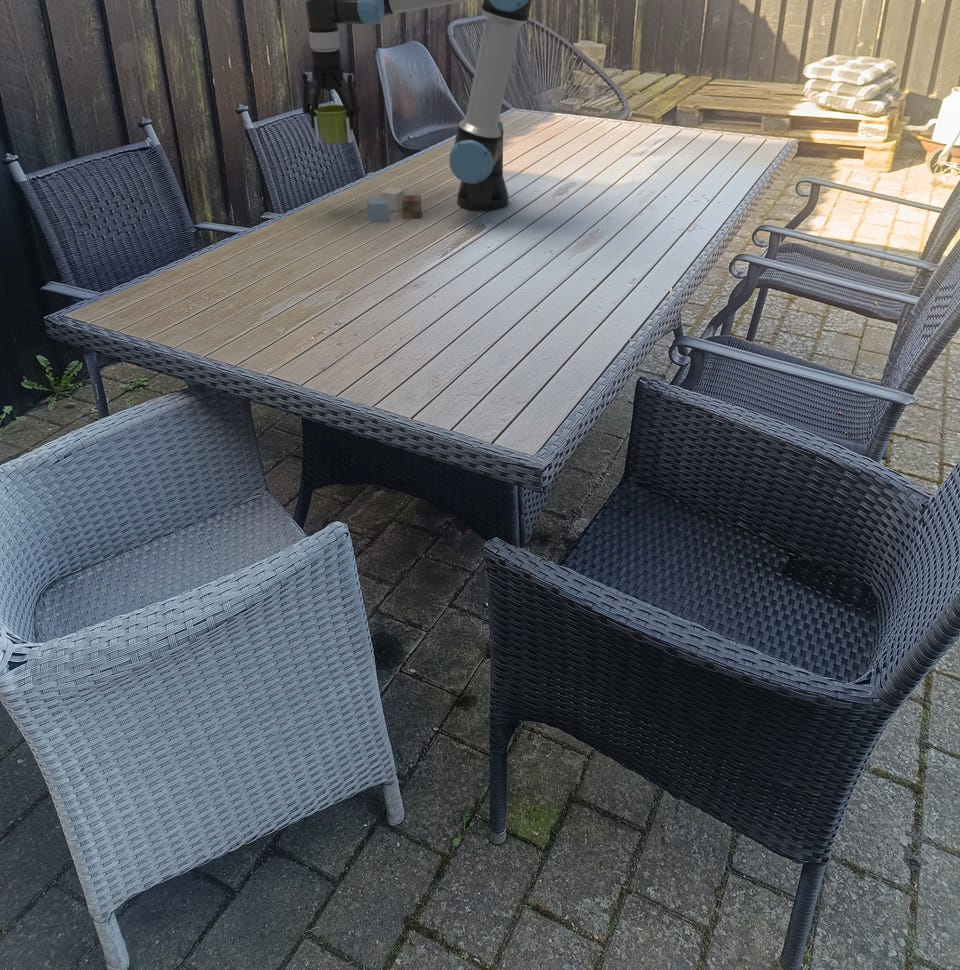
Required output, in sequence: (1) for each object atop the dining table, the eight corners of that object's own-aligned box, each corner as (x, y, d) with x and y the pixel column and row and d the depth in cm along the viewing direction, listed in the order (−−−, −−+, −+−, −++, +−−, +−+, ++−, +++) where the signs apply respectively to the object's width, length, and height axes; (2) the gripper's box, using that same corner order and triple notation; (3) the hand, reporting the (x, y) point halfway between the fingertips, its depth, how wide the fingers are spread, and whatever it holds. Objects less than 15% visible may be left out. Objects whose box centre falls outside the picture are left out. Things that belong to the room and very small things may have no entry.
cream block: (405, 206, 246) (404, 189, 243) (397, 211, 242) (395, 194, 239) (390, 204, 247) (389, 187, 245) (381, 209, 244) (380, 192, 241)
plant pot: (346, 147, 227) (342, 112, 222) (313, 146, 229) (308, 111, 224) (357, 138, 234) (353, 105, 229) (325, 137, 236) (321, 104, 231)
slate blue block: (385, 215, 240) (383, 197, 237) (388, 220, 236) (387, 203, 233) (367, 217, 238) (366, 199, 236) (370, 222, 235) (369, 204, 232)
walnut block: (421, 212, 241) (420, 195, 238) (420, 218, 237) (419, 200, 234) (404, 213, 241) (403, 195, 238) (403, 218, 237) (402, 201, 234)
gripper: (368, 47, 220) (375, 138, 233) (291, 46, 223) (303, 136, 236) (360, 52, 214) (368, 145, 227) (281, 51, 217) (294, 143, 230)
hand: (335, 141), depth 231 cm, fingers closed on plant pot, 8 cm apart
